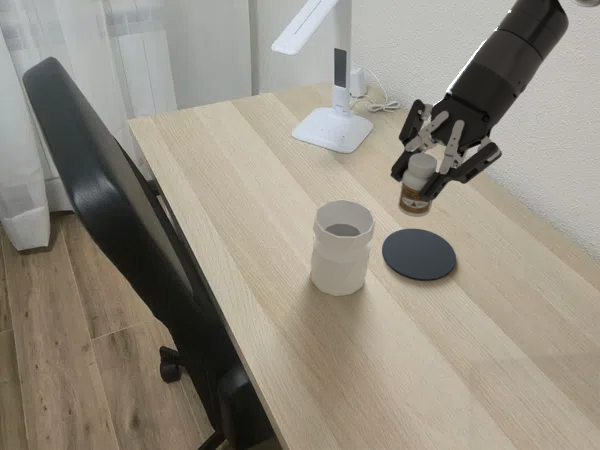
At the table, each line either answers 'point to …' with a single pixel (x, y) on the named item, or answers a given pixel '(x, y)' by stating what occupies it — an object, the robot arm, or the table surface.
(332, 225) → the vase
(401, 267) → the rubber mat
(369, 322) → the table surface
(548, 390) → the table surface
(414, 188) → the pill bottle
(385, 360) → the table surface
